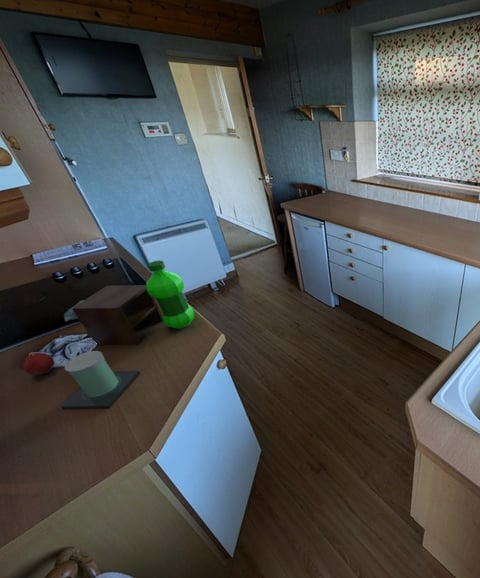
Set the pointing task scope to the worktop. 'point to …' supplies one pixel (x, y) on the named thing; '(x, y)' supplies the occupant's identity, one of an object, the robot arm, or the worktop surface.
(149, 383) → the worktop surface
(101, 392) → the jar
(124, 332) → the shelf rack
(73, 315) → the packaged food
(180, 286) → the plastic bottle
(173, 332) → the worktop surface
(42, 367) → the red rounded lump
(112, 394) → the hob
